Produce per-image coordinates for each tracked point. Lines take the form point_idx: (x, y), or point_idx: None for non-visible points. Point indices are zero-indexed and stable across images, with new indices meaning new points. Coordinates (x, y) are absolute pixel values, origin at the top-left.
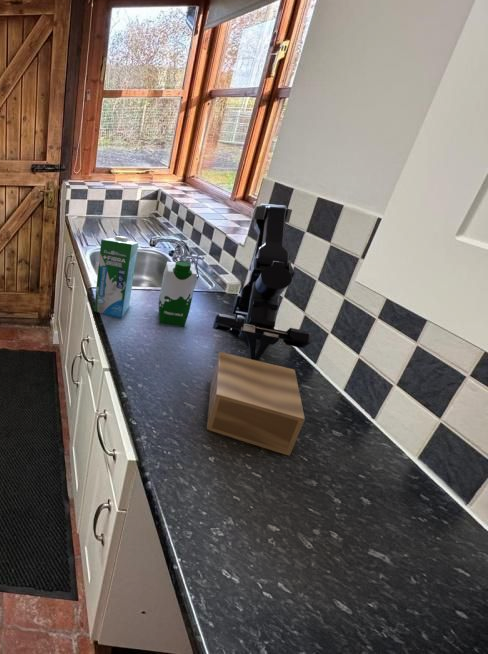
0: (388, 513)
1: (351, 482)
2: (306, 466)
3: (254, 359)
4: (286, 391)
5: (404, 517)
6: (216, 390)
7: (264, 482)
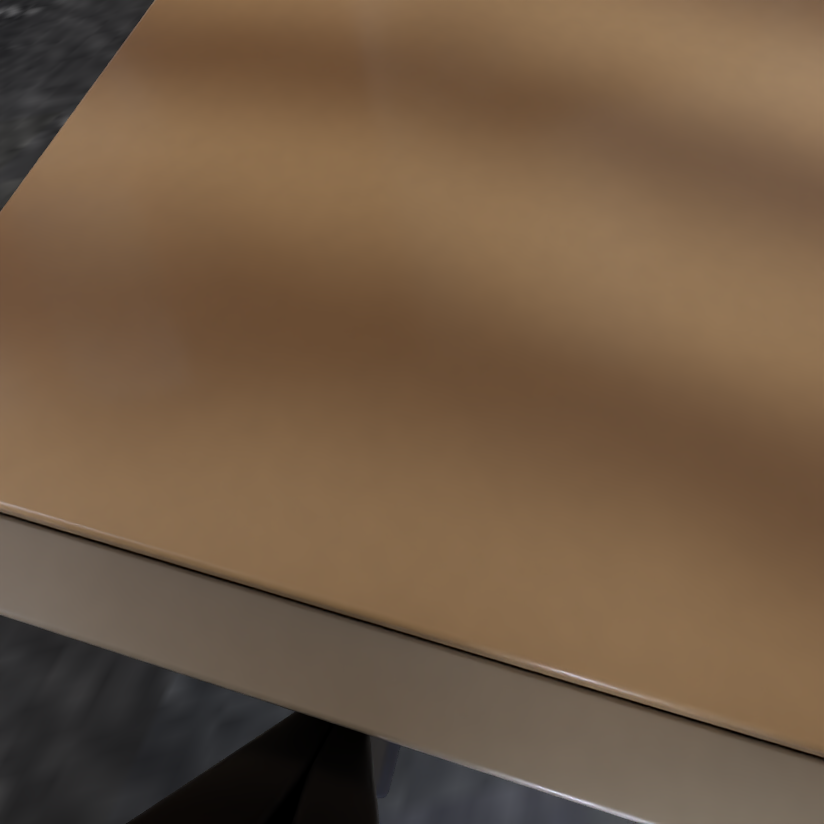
0: (108, 8)
1: None
2: None
3: (320, 756)
4: (249, 31)
5: (64, 6)
6: None
7: None
